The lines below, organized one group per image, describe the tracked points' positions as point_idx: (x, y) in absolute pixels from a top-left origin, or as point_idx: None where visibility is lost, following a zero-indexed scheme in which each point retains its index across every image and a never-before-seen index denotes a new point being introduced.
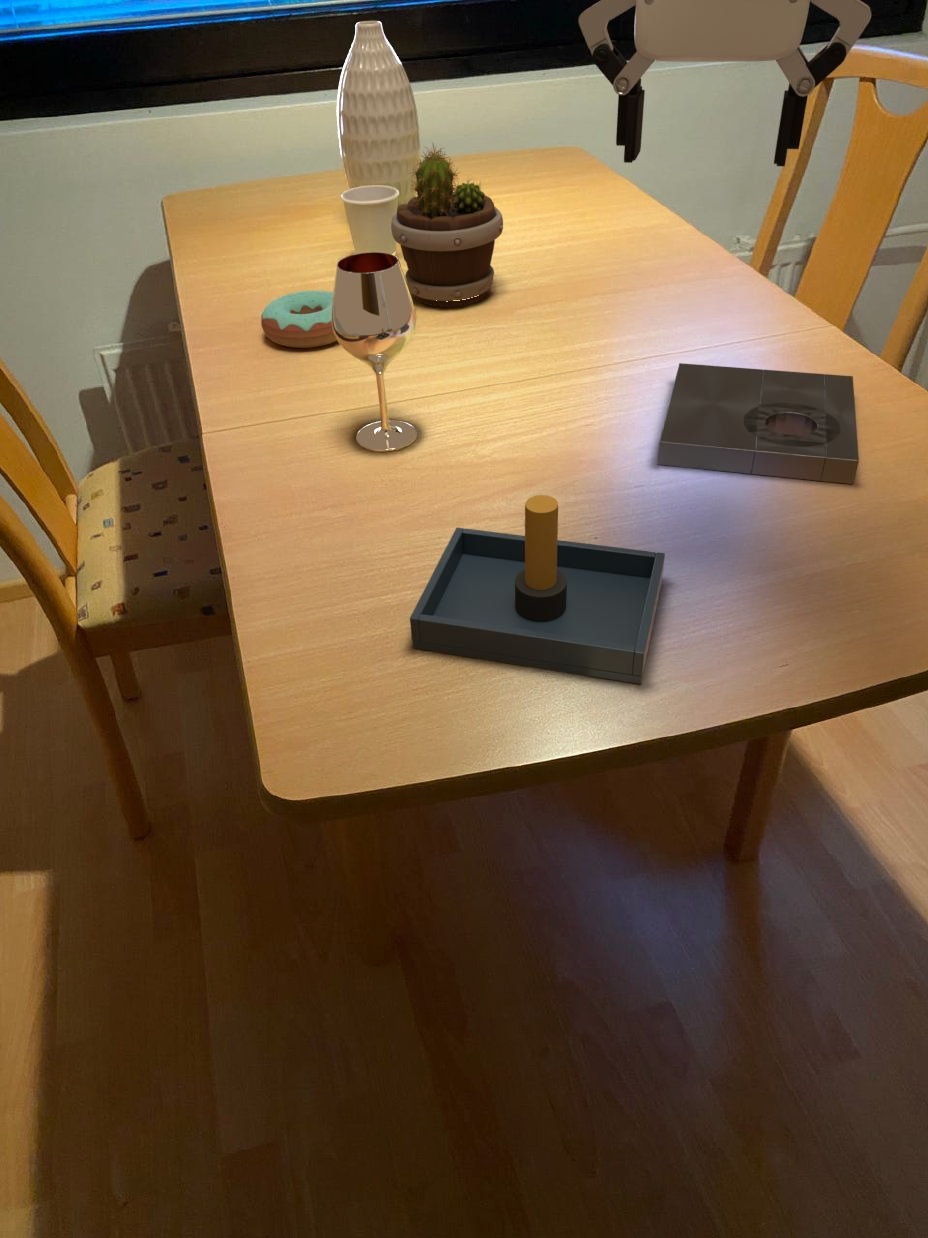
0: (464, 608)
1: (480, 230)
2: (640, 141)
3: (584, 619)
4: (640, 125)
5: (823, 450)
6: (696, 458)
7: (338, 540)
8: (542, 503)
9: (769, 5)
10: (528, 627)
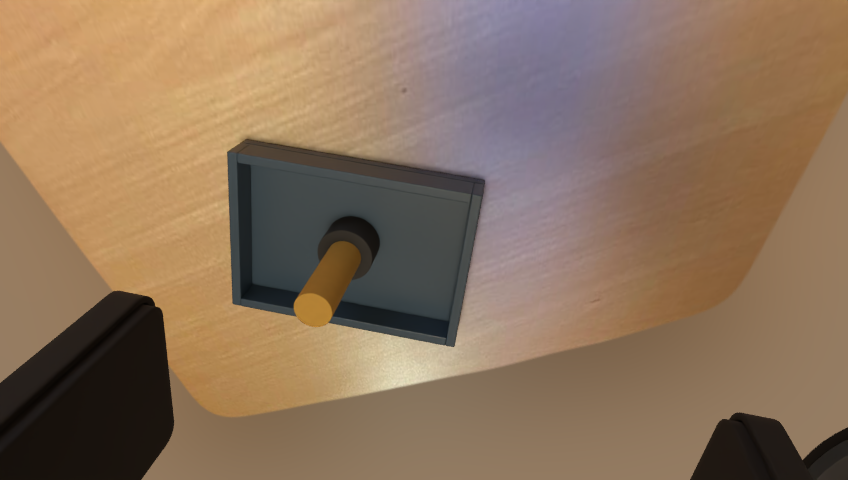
0: (278, 246)
1: None
2: (140, 345)
3: (400, 259)
4: (99, 429)
5: None
6: None
7: (100, 113)
8: (313, 310)
9: None
10: None
